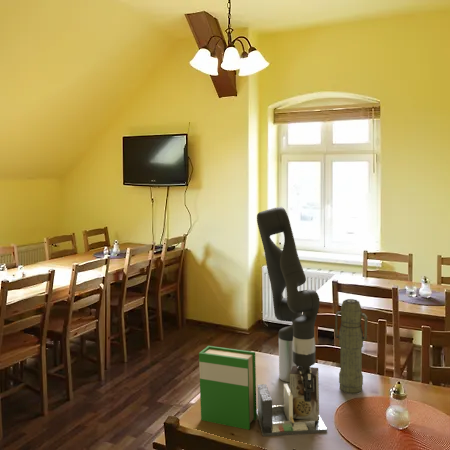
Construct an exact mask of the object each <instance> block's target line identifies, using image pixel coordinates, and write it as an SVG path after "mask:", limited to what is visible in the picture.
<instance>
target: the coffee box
mask: <svg viewBox="0 0 450 450" xmlns="http://www.w3.org/2000/svg"><path fill="white" fill-rule="evenodd" d="M297 367H299V366H293V367H292V369H291V372H290V382H289V389H290V391H291V393H292V395H293V419H302V420H311V419H314V420H315V421H318V417H319V415H320V392H319V391H320V389H319V387H320V386H319V385H320V380H319V367H313V366H312V367H311V366H310V369H311V372H312V373H313V391H311V401H310V402H305V401H304V387H303V384H302V383H301V376H302V377H303V374H300V373H299V370H298V369H297ZM303 380H304V381H305V377H303ZM307 387H309V385H307Z"/></svg>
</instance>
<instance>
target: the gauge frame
mask: <svg viewBox="0 0 450 450" xmlns="http://www.w3.org/2000/svg"><path fill="white" fill-rule="evenodd" d="M256 413H257V420H258V425H259V427H260V430H261V434H262V437H273V436H274V437H276V436H290V435H302V434H303V435H305V434H317V433H318V434H319V433H328V428H327V426H326V425H325V423H324V420H323V418H322V417H321V415H320V414H319V417H318V421H315V420H314V419H311V420H302V419H293V420H294V427H292V421H288V420H287V418H286V415H285V413H284V404H277V405H276V404H275V405H273V399H272V396H271V393H270V391H269V389H268V386H267V384H266V383H265V384H264V383H263V384H257V408H256Z"/></svg>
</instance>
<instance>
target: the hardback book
mask: <svg viewBox="0 0 450 450" xmlns="http://www.w3.org/2000/svg"><path fill="white" fill-rule="evenodd" d="M198 363H199V367H198V369H199V370H198V371H199V393H200V394H199V396H200V421H203V422H204V421H205V422H209V423H213V424H218V425H224V426H227V427H234V428H239V429H243V430H250V429H251V423H252V422H253V421H257V420H258V417H257V413H256V409H257V377H256V375H257V373H256V367H257V366H256V351H253V350H251V351H250V350H245V349H244V350H243V349H238V348H237V349H235V348H228V347H221V346H213V345H207V346H206V347H205V348H204V349H202V350H201V351H199V353H198Z"/></svg>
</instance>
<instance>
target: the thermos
mask: <svg viewBox="0 0 450 450" xmlns="http://www.w3.org/2000/svg"><path fill="white" fill-rule="evenodd" d="M338 316H340V321H341V323H340V327H339V331H338ZM334 317H335V321H334V322H335V327H334V329H335V330H334V331H335V332H334V333H335V334H334V335H335V338H336V339H337V340H338V341H339V342H338V344H339V345H338V346H339V348H340V370H339V373H338V383H339V390H340V391H341V392H342V393H345V394H348V395H357V394H361V393H362V392H363V385H364V376H363V372H362V371H363V370H362V364H363V363H362V361H363V360H362V349H363V347H364V342H366V340H368V316H367V315H366V313H364V312H362V306H361V303H360V301H359V300H357V299H353V298H347V299H344V300H343V301H342V303H341V306H340V311H339V310H338V311H337V312H336V313H335V315H334ZM362 318H364V321H363V322H364V324H363V325H364V327H363V328H364V331H363V329H362ZM338 333H339V334H338Z"/></svg>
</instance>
